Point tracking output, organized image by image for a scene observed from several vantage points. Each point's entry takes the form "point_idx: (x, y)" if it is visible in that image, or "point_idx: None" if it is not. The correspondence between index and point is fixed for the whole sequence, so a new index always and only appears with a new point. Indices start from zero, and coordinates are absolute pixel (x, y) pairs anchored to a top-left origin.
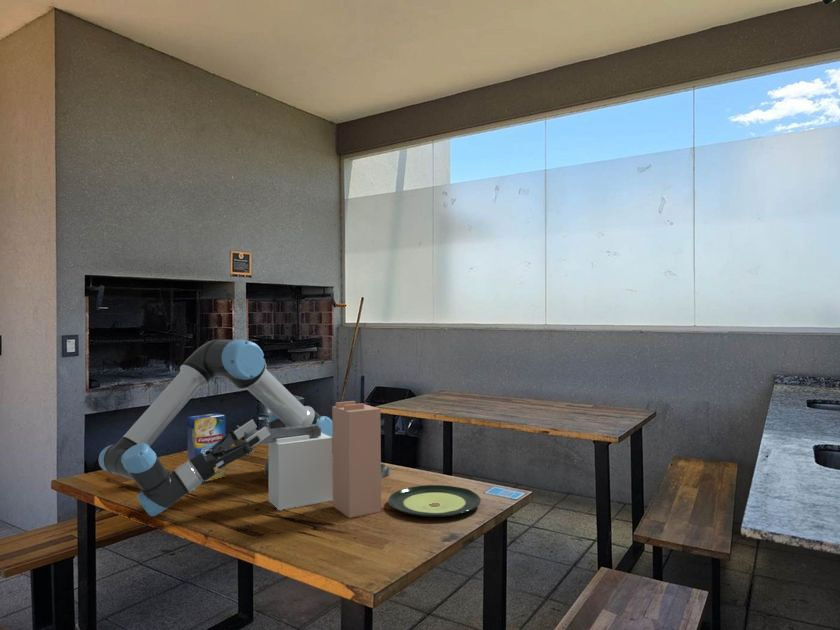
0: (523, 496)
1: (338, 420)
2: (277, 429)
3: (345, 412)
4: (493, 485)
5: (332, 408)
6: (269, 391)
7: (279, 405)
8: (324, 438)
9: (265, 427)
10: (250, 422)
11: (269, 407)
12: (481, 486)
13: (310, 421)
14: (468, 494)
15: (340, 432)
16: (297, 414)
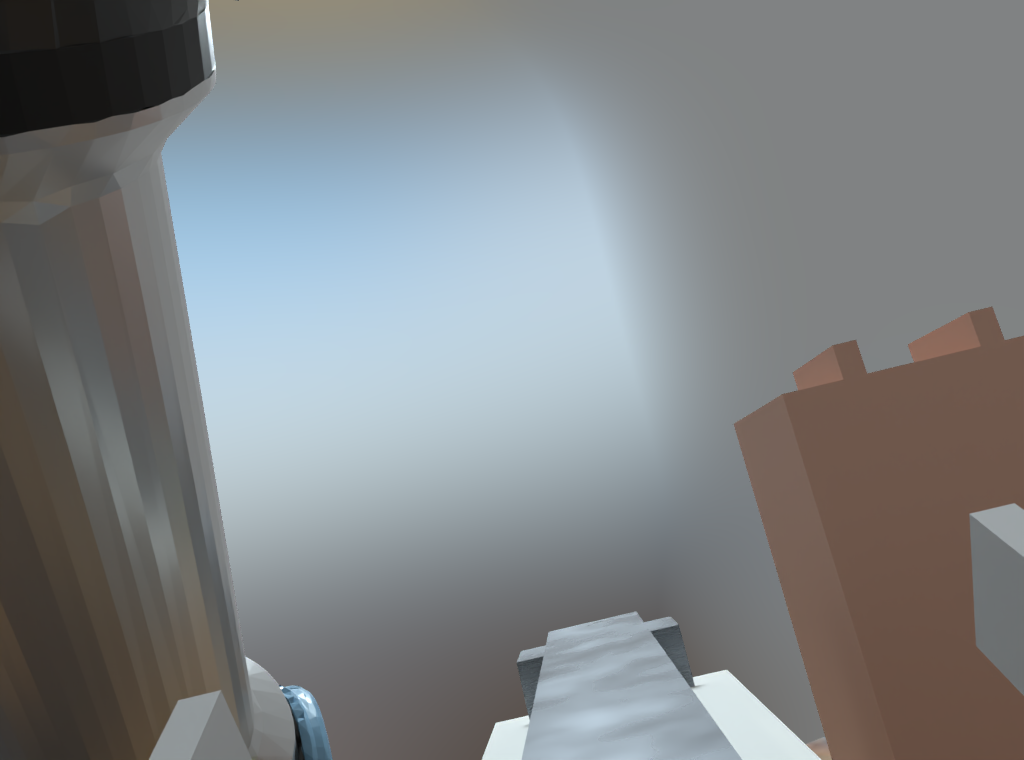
0: None
1: (916, 450)
2: (624, 685)
3: (1013, 349)
4: (823, 739)
5: (788, 407)
6: (180, 357)
7: (197, 560)
8: (736, 682)
9: (1022, 514)
10: (209, 751)
11: (85, 606)
12: (823, 753)
13: (286, 718)
14: None
15: None
16: (244, 666)
